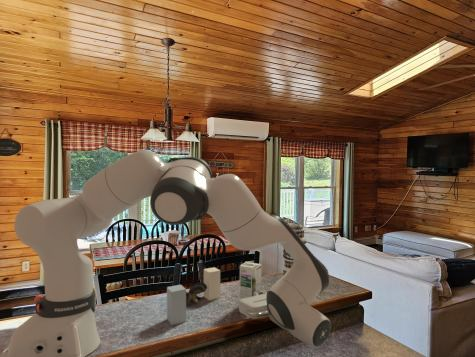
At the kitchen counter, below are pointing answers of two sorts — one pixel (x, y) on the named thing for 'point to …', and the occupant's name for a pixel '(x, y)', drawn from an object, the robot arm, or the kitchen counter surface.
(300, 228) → the decorative candle
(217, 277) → the cream block
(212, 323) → the kitchen counter surface
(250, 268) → the syrup box
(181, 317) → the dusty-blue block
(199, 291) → the brown animal figure
